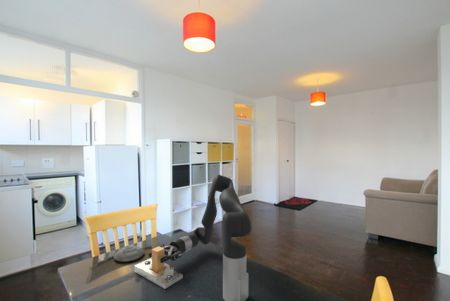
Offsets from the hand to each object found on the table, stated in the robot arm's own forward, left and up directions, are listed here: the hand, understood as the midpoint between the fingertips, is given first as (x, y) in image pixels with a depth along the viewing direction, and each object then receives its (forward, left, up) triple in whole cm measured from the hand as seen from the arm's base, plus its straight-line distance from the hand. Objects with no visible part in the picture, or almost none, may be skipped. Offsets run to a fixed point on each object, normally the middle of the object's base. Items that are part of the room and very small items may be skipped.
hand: (154, 258), depth 103 cm
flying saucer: (+27, -4, -9) cm, 29 cm away
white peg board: (0, -2, -8) cm, 9 cm away
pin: (0, -2, -8) cm, 9 cm away
